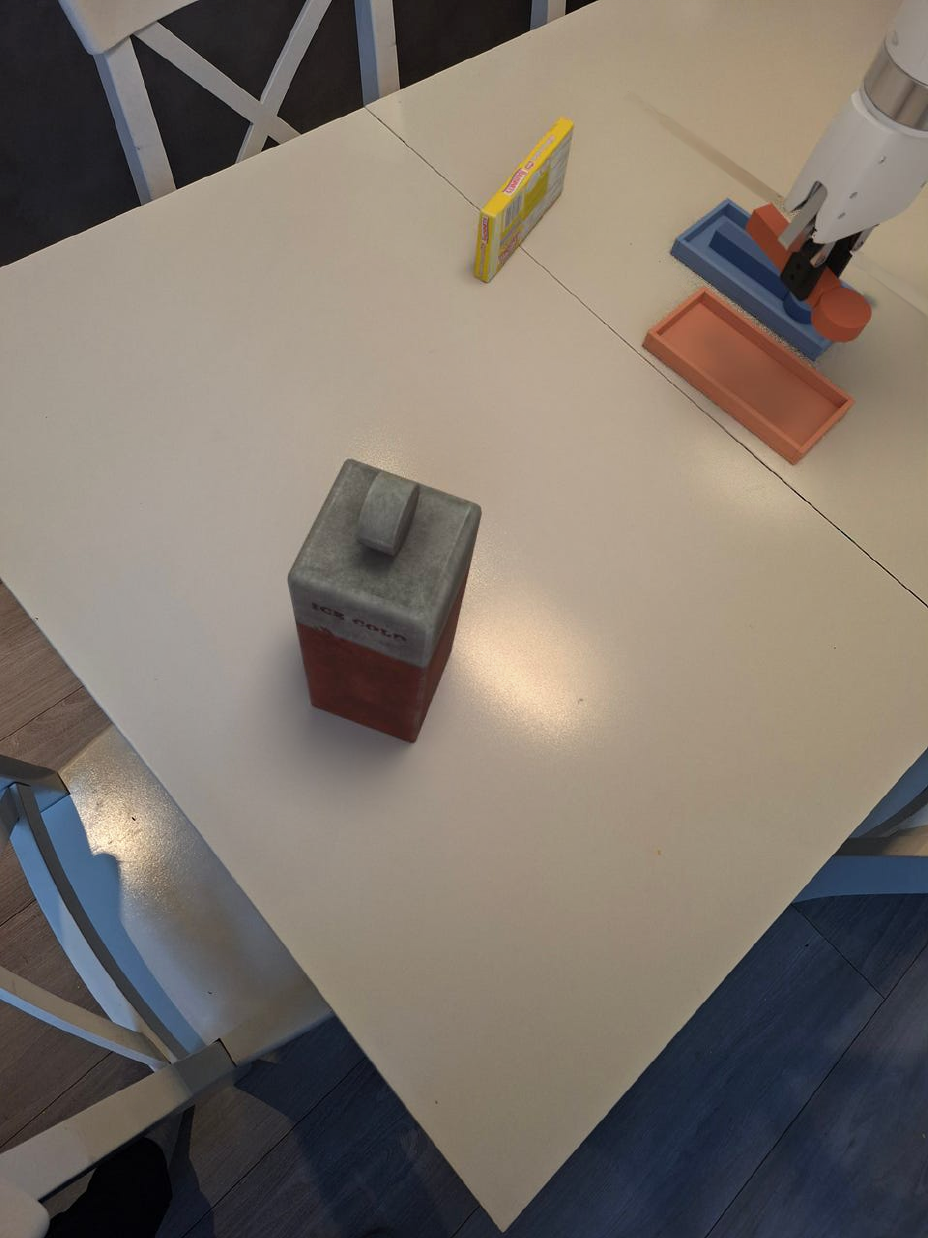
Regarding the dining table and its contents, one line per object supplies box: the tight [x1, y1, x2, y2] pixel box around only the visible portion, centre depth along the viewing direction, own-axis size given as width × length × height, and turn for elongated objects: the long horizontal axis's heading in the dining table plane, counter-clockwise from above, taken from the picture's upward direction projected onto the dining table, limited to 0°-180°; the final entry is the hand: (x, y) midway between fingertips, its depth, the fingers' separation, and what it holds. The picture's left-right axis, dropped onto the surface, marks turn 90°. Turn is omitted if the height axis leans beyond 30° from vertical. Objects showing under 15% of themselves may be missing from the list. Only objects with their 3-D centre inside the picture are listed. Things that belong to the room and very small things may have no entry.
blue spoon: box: [709, 221, 813, 324], centre depth 93 cm, size 14×4×2 cm, turn 46°
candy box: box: [473, 116, 575, 283], centre depth 90 cm, size 16×2×8 cm, turn 149°
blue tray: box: [669, 197, 873, 362], centre depth 93 cm, size 19×9×2 cm, turn 46°
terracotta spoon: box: [745, 202, 872, 343], centre depth 76 cm, size 14×4×2 cm, turn 29°
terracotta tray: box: [641, 285, 857, 466], centre depth 88 cm, size 19×9×2 cm, turn 46°
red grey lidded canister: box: [287, 458, 483, 744], centre depth 60 cm, size 9×11×28 cm
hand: (805, 283), depth 77 cm, fingers closed on terracotta spoon, 2 cm apart
